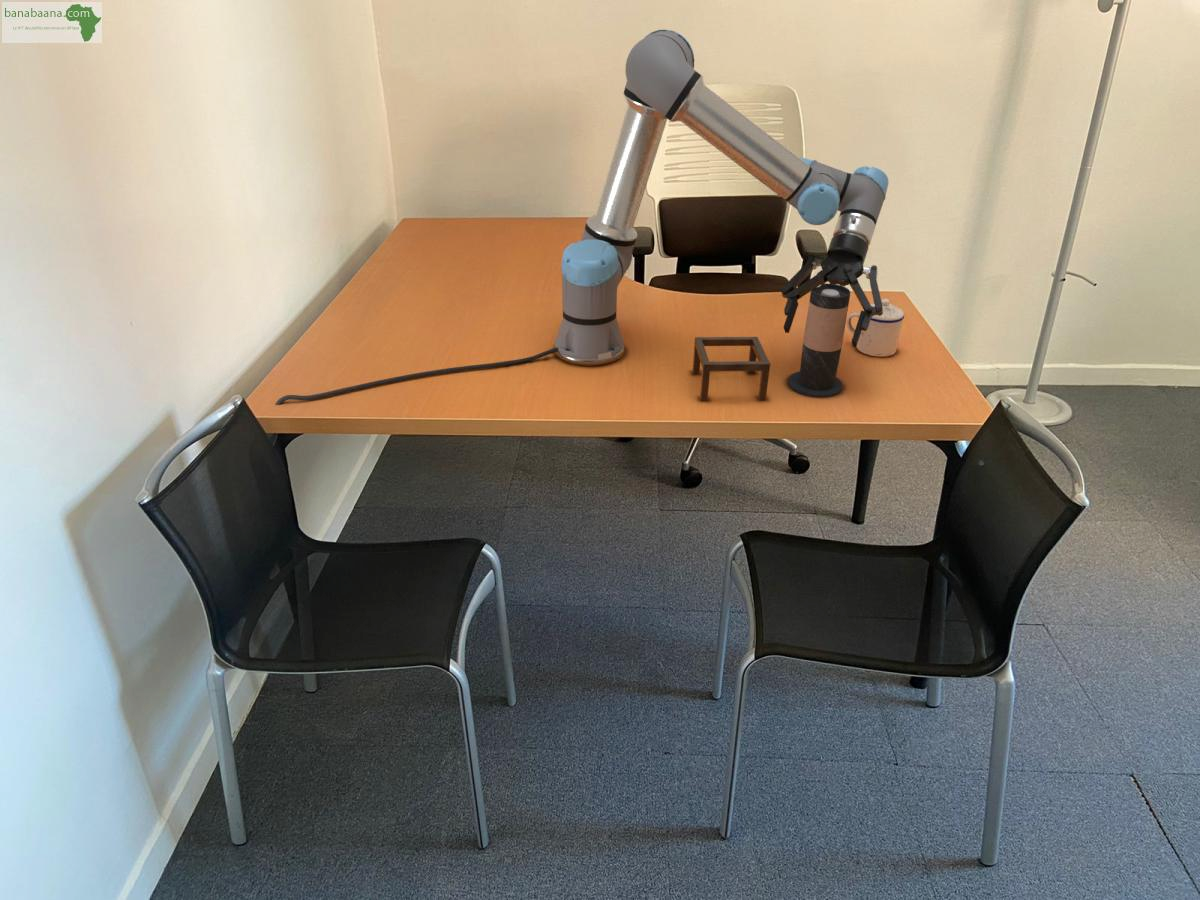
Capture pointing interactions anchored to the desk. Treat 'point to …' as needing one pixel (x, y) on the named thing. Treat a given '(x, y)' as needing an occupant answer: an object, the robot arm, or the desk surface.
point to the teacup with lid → (880, 331)
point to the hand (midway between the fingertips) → (819, 337)
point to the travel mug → (823, 336)
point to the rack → (747, 366)
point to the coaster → (796, 386)
